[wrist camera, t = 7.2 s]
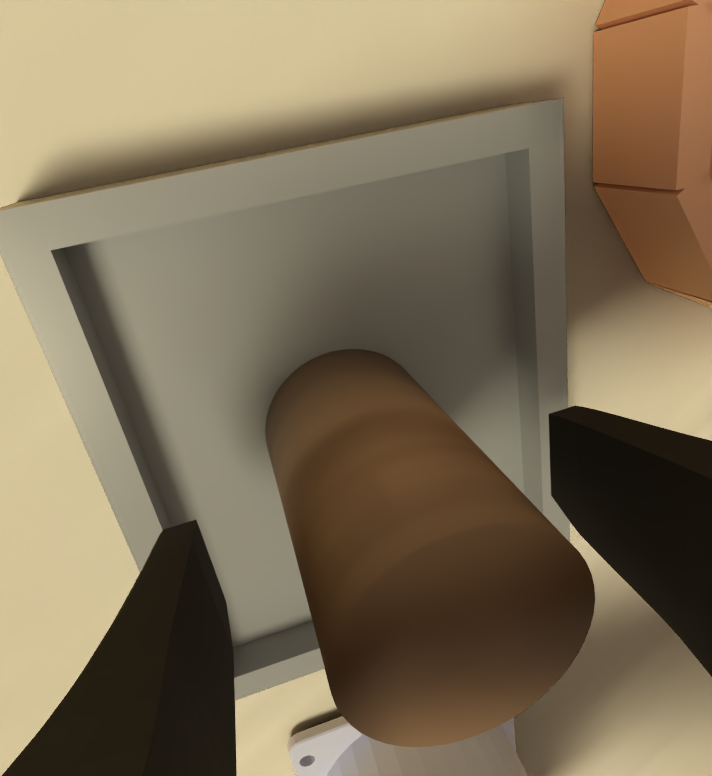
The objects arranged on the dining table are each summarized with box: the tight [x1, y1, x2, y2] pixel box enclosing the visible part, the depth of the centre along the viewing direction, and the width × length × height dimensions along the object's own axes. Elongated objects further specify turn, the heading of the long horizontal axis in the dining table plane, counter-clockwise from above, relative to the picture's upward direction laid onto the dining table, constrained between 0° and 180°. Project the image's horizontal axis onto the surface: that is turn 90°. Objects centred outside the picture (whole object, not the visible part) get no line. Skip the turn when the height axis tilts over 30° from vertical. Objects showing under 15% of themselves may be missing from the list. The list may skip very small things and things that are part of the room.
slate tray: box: [0, 98, 570, 700], centre depth 14 cm, size 13×11×2 cm
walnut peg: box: [265, 349, 595, 747], centre depth 11 cm, size 4×4×7 cm
